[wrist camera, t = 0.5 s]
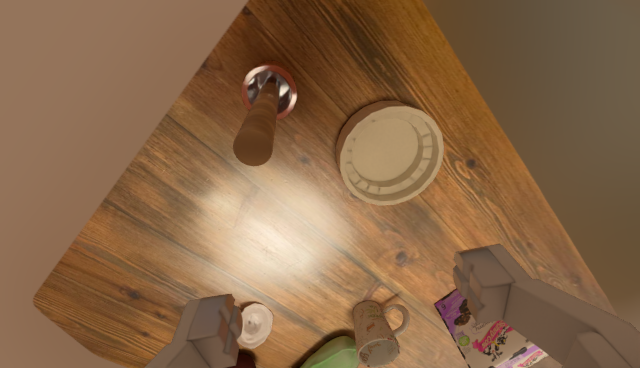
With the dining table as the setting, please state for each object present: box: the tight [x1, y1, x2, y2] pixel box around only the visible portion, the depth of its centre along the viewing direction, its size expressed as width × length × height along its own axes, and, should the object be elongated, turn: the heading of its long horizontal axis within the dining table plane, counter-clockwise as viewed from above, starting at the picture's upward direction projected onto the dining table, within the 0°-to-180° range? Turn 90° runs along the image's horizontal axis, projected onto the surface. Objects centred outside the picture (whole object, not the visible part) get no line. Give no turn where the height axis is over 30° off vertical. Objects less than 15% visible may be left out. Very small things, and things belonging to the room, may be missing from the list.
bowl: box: [336, 100, 444, 206], centre depth 46 cm, size 16×16×5 cm
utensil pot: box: [241, 60, 297, 120], centre depth 39 cm, size 7×7×7 cm
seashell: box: [237, 303, 273, 349], centre depth 60 cm, size 8×5×8 cm
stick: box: [233, 77, 280, 166], centre depth 30 cm, size 2×2×26 cm
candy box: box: [435, 289, 549, 368], centre depth 58 cm, size 14×6×16 cm, turn 134°
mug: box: [353, 301, 410, 367], centre depth 60 cm, size 8×13×10 cm, turn 127°
